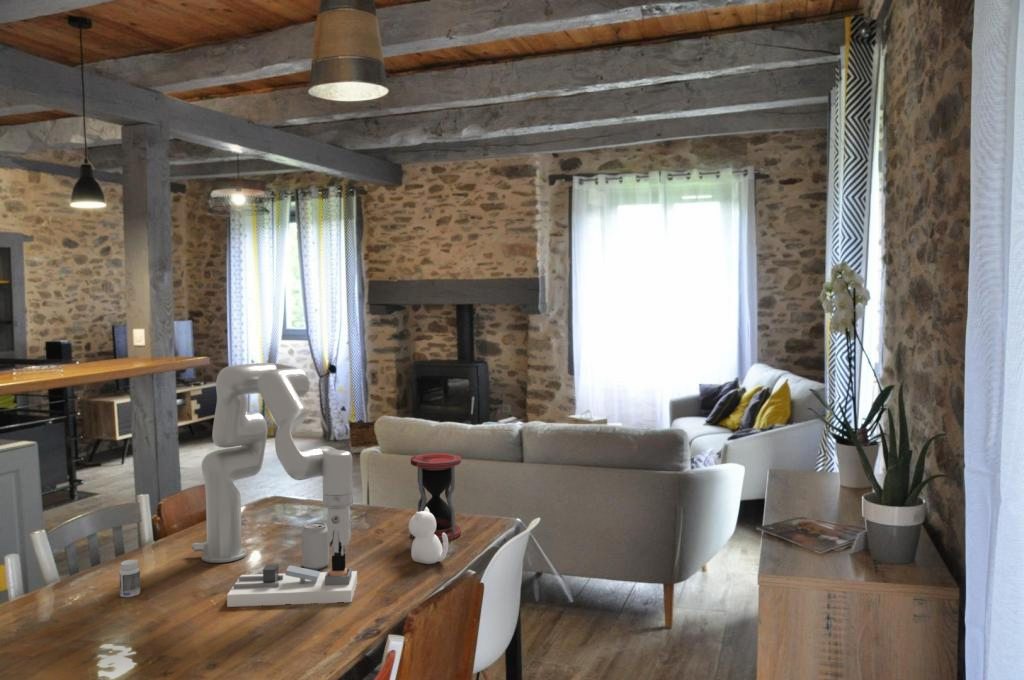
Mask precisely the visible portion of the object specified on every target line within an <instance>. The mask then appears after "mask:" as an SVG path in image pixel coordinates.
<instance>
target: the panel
mask: <svg viewBox="0 0 1024 680" xmlns="http://www.w3.org/2000/svg"><path fill="white" fill-rule="evenodd" d="M346 568H347V576H330V569H331V568H327V571H322V572H321V571H320V573H319V577H318V579H317V581H311V580H307V579H302V578H297V577H292V576H287V575H285V573H286V572H283V573H279V580H278V581H277V582H273V583H263V573H259V574H257V573H255V574H241V575H240V576H238V579H237V581H236V582H235V583H233V586H232V587H231V589H230V590H229V592H228V593H227V594H226V598H227V599H226V604H227V607H226V608H228V607H229V608H232V607H256V606H262V605H263V606H285V604H291V605H312V604H313V603H318V604H338V603H337V602H344V603H352V601H353V599H352V598H354V596H355V595H354V594H355V592H354V591H356V588H357V585H356V584H358V570H352V569H353V568H351V567H346ZM311 603H312V604H311Z"/></svg>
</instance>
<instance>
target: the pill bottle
mask: <svg viewBox="0 0 1024 680" xmlns="http://www.w3.org/2000/svg"><path fill="white" fill-rule="evenodd" d="M118 573H119V575H118V576H119V596H120V597H121V598H132V597H135V596H138V595H139V594H140V593H141V569H140V568H139V560H138V559H128V560H124V561H122V562H120V570H119V572H118Z"/></svg>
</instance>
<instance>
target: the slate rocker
mask: <svg viewBox="0 0 1024 680" xmlns="http://www.w3.org/2000/svg"><path fill="white" fill-rule="evenodd" d="M320 572H321V571H320V570H319V571H318V570H310V569H306V568H305V567H304V568H303V567H300V566H295V565H288V566H287V568H286V571H285V572H284V573H285V575H287V576H292V577H297V578H302V579H307V580H311V581H317V579H318V577H319V573H320Z"/></svg>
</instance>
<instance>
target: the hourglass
mask: <svg viewBox="0 0 1024 680" xmlns="http://www.w3.org/2000/svg"><path fill="white" fill-rule="evenodd" d="M461 462H462V458H461V456H459V455H457V454H453V453H442V452H441V453H438V452H437V453H423V454H418V455H414V456H412V457H411V458H410V465H412V466H413V467H416V468H417V485H418V491H419V494H420V499H419V500H418V502H417V512H421V511H424V510H425V508H426V507H427V508H428V509H429V511H430V513H432V514H433V516H434V517H435V520H436V530H435V532H434V533H433V534H435V535H436V536H437V537H438V538H439V540H440V542H443V539H442V533H445V534H446V535H447V538H448V541H451V540H454V539H453V538H455V539H456V537H457V538H458V536H459V535H461V534H462V528H461V526H460V525H458V524H456V520H455V519H456V510H455V507H454V505H453V501H452V494H453V493H454V491H455V487H456V486H455V485H456V481H455V478H456V477H455V473H456V472H455V471H456V468H455V467H456V466H459V465H460V464H461ZM426 491H427V492H428V493H429V494H430V495H431V498H430V499H429V500H428V499H427V494H426ZM443 492H444V494H445V495H444V496H445V498H446V501H444V499H443V498H441V494H442V493H443ZM427 500H428V501H427ZM446 502H447V503H446ZM460 533H461V534H460ZM410 535H411V537H412V536H413V535H412V534H411V533H410ZM413 537H414V536H413ZM413 537H412V538H413ZM459 537H460V536H459ZM415 538H416V537H414V538H413V539H415ZM450 539H451V540H450Z"/></svg>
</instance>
